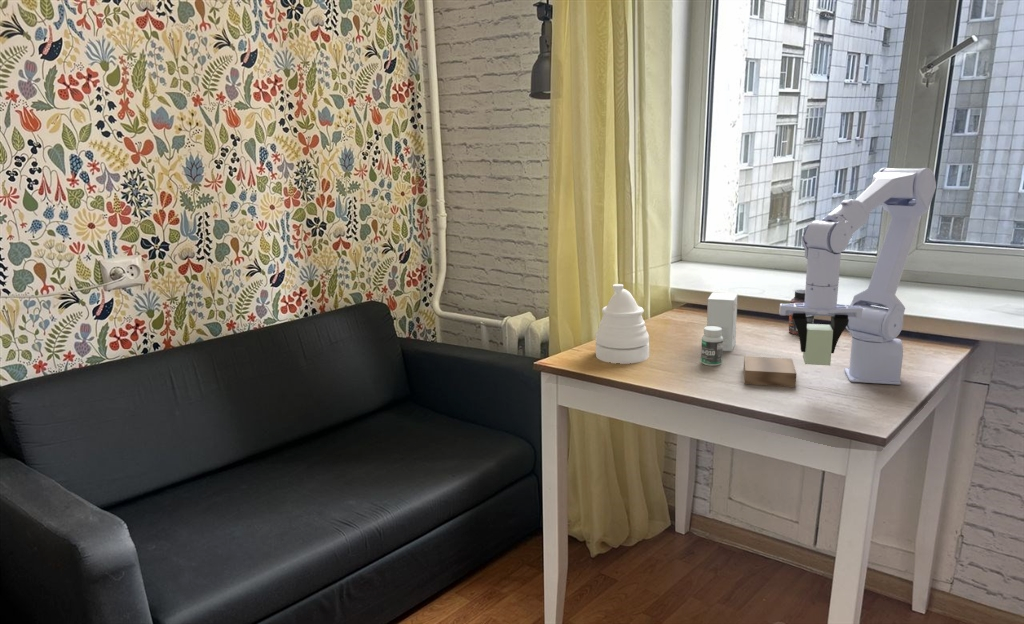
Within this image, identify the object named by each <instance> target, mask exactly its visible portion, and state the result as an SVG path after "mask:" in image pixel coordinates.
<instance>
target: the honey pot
mask: <svg viewBox="0 0 1024 624" xmlns="http://www.w3.org/2000/svg"><path fill="white" fill-rule="evenodd" d="M612 290H613V291H614V293H613V294H612V296H611V297H610V299H609V301H608V302H607V305H605V306H603V308H601V313H602V318H601V320H600V321H599V326H598V330H597V332H596V333H595V356H596V358H597V359H598V360H600V361H601V362H606V363H609V362H611V364H616V363H620V365H622V364H623V365H626V364H627V365H628V364H630V363H631V364H637V363H642V362H645V361H646V360H648V359H649V357H650V343H649V342H650V340H649V339H650V335H649V332H648V331H647V326H646V325H645V324H646V322H645V320H644V318H643V316H642V315H643V313H644V312H645V309H644V308H643V307H642V306H639V305H638V303H637V301H636V299H635V298H634V296H633V295H632V293H631V292H630V291H629V290H628V289H625V288H624V284H622V283H614V284H612Z"/></svg>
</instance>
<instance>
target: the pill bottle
mask: <svg viewBox="0 0 1024 624" xmlns="http://www.w3.org/2000/svg"><path fill="white" fill-rule="evenodd" d="M721 335H722V328H720V327H716V326H707V325H706V326H705V327H703V335H702V336H701V346H700V347H701V348H700V350H701V351H700V355H701V356H700V362H701V364H702V365H706V366H709V367H713V366H720V365H722V363H723V352H724V351H723V337H722V336H721Z"/></svg>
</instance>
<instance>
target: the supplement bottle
mask: <svg viewBox="0 0 1024 624" xmlns="http://www.w3.org/2000/svg"><path fill="white" fill-rule="evenodd" d="M791 303H805V289H797V290H795V291H794V297H793V298H791V300H790V303H789V304H791ZM788 317H789V318H788V332H789V333H790V334H792V335H795V334H796V336H799V334H798V330H797V327H796V325H795V322H794V320H793V317H792V315H789V316H788ZM806 317H807V324H815V323H814V322H815V316H814V315H806Z"/></svg>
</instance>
